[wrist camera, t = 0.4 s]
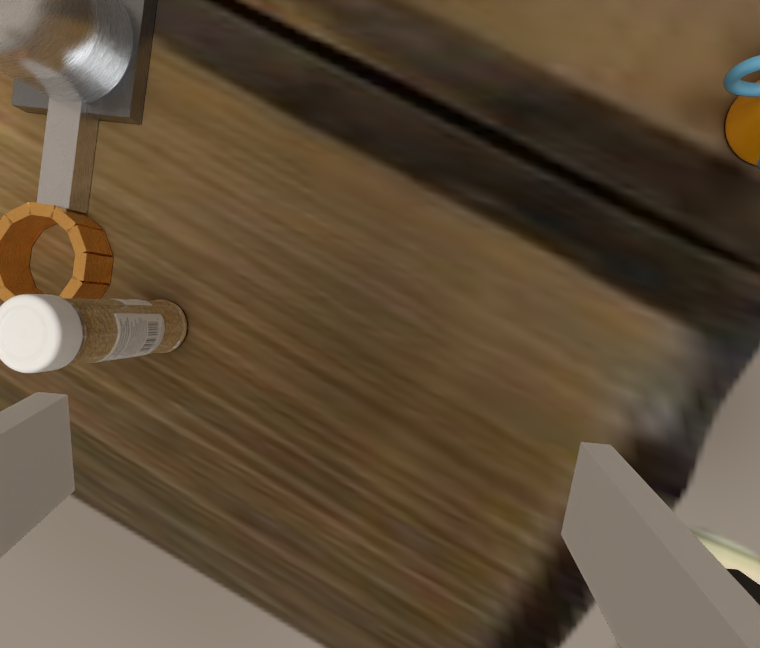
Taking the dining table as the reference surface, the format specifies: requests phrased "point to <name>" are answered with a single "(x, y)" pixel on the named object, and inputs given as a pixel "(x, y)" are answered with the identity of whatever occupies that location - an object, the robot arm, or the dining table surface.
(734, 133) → the orange column with loops
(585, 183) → the dining table surface
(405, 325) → the dining table surface
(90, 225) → the silver rounded container
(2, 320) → the sprinkles bottle
